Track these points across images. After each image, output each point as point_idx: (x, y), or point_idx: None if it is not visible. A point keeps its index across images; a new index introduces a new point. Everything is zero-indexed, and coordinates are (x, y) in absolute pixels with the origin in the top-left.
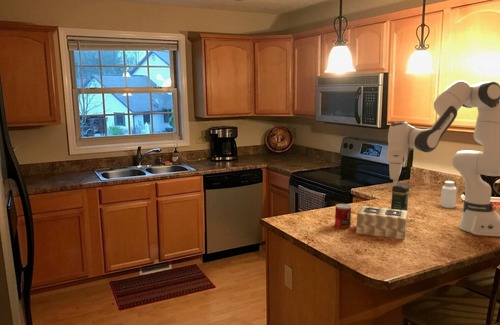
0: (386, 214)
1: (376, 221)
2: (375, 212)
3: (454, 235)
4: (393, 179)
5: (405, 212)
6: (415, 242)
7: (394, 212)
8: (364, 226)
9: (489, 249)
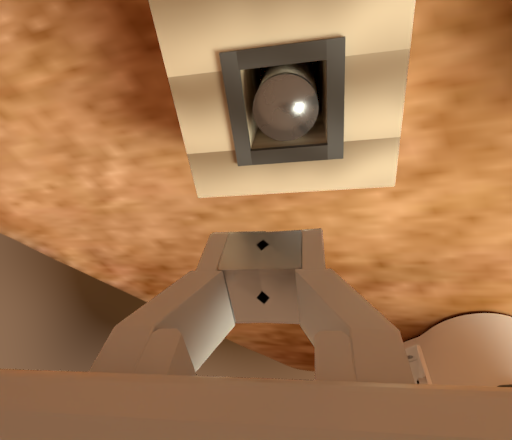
0: (222, 64)
1: None
2: None
3: (370, 298)
4: (138, 318)
5: (342, 179)
6: None
7: (284, 116)
8: None
9: (276, 359)
